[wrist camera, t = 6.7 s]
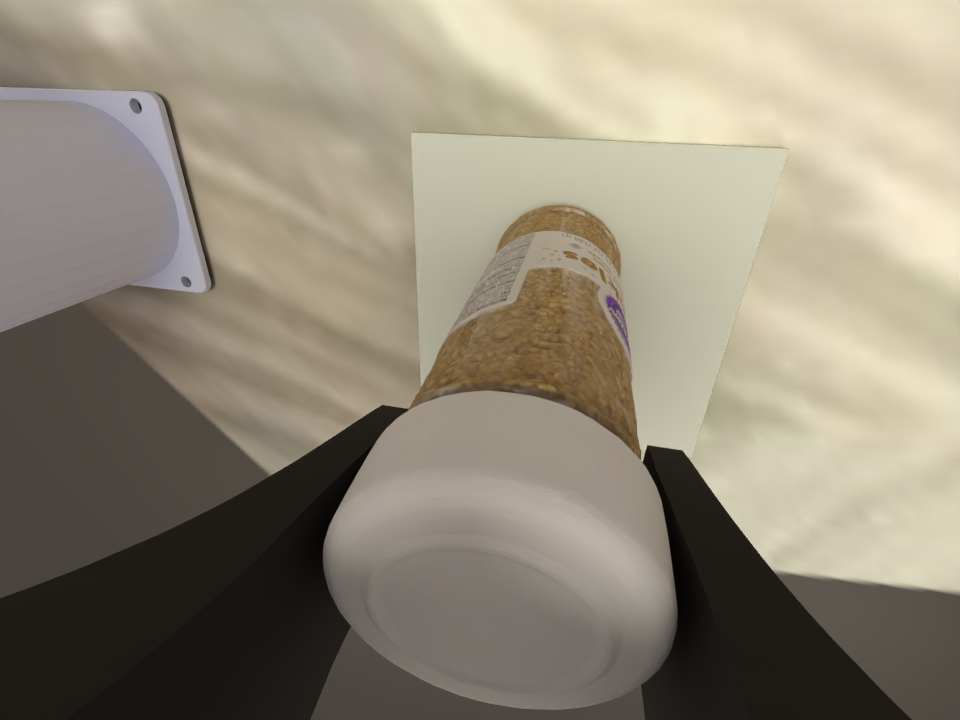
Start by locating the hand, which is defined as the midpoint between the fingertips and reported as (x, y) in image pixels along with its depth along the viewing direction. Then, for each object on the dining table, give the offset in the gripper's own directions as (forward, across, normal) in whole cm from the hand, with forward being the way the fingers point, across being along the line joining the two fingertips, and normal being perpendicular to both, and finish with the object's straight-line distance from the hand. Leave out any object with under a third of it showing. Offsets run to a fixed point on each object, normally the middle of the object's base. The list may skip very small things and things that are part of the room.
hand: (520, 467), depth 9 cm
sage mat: (+10, 0, +1) cm, 10 cm away
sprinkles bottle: (+10, 0, -1) cm, 10 cm away
